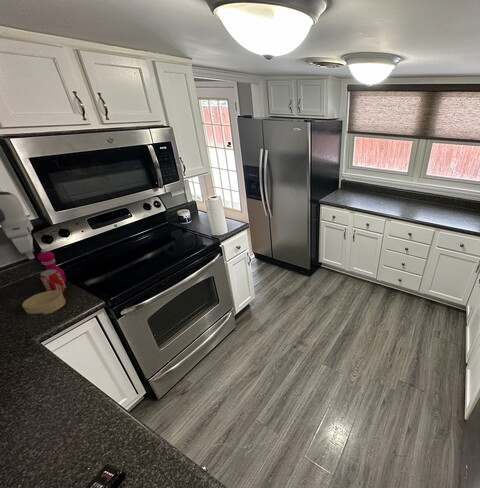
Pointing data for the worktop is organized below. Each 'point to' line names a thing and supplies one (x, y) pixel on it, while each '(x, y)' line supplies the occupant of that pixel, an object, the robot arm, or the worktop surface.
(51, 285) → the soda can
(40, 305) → the beige oval piece
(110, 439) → the worktop surface
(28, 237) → the robot arm
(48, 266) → the pepper mill
